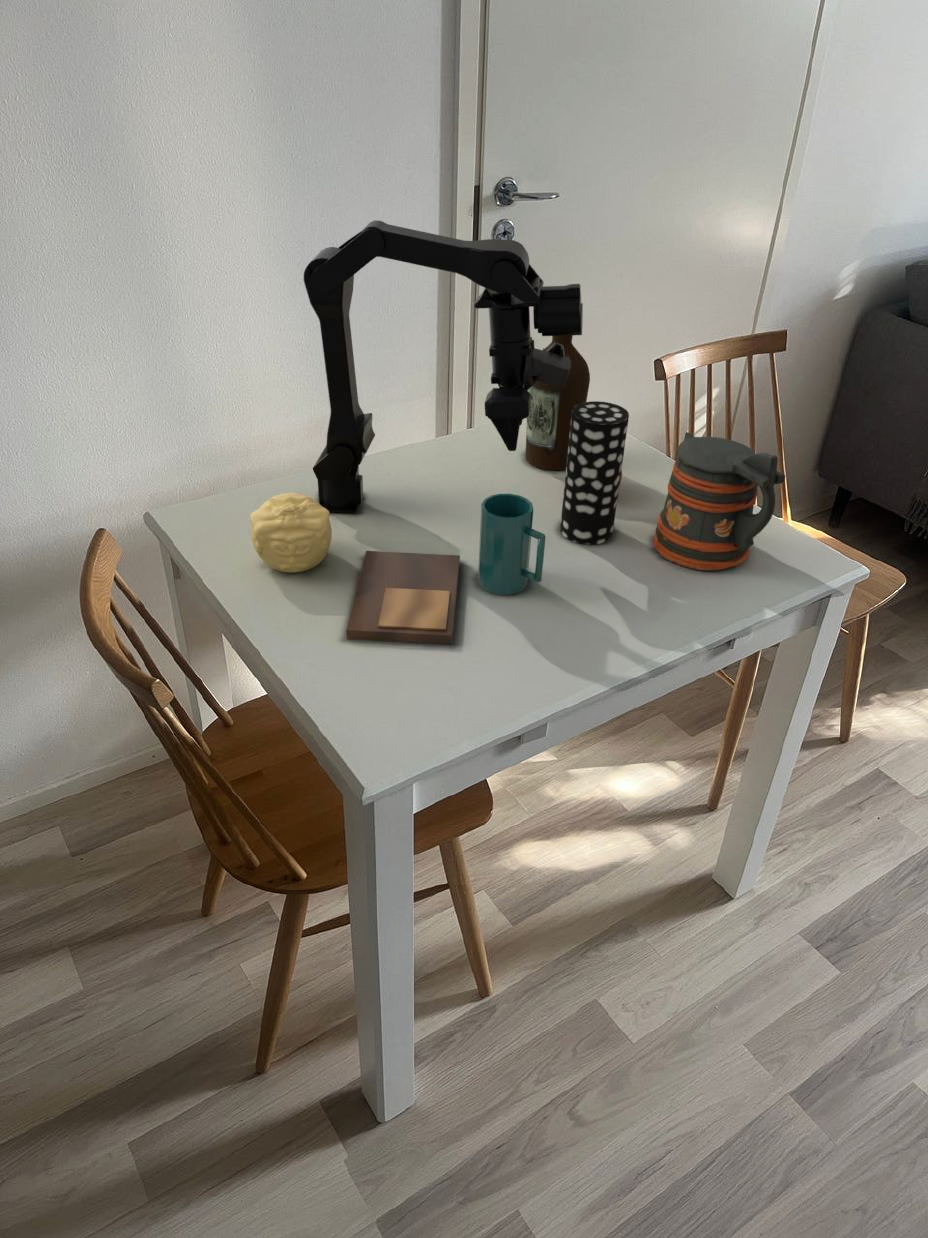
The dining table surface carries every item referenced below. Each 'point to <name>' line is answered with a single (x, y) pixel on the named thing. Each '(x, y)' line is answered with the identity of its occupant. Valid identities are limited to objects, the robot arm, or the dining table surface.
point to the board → (405, 598)
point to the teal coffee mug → (507, 544)
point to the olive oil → (555, 412)
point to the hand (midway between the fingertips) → (515, 437)
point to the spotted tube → (593, 471)
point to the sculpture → (291, 532)
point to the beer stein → (715, 503)
